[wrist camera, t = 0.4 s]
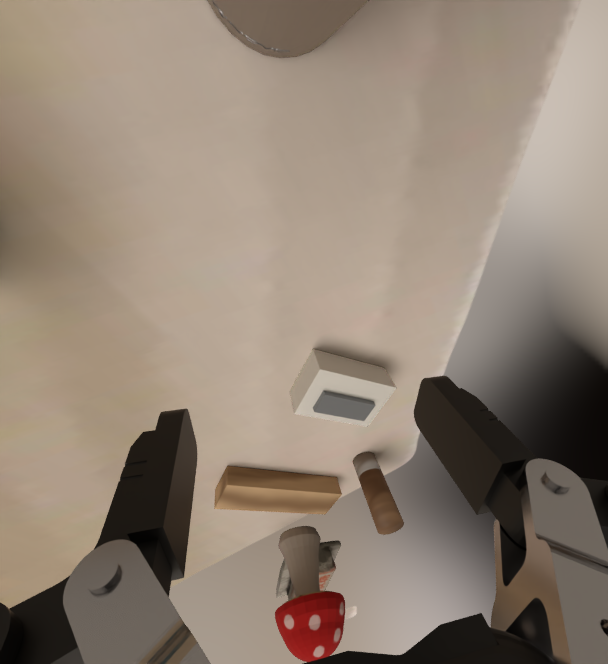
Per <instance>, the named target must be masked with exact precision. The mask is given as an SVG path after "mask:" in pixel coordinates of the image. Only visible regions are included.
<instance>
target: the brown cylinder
mask: <svg viewBox="0 0 608 664" xmlns="http://www.w3.org/2000/svg"><path fill="white" fill-rule="evenodd" d="M353 464H354V467H355V470H356V473H357V475H358V478H359V481H360V484H361V486H362V489H363V492H364V495H365V498H366V500H367V503H368V506H369V509H370V512H371V514H372V517H373V520H374V523H375V526H376V528H377V531H378V533H379V534H384V535H385V534H391V533H393V532H396V531H398V530H399V529H401V528H402V527H403V525H404V522H403V520H402V517H401V515H400V513H399V510H398V508H397V506H396V503H395V501H394V499H393V497H392V494H391V492H390V490H389V487H388V485H387V483H386V481H385V478H384V476H383V473H382V471H381V469H380V466H379V464H378V462H377V460H376V457H375V455H374V454H373V453H371V452H364V453H361V454H359V455H357V456H356V457H355V458H354V460H353Z"/></svg>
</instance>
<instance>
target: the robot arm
mask: <svg viewBox="0 0 608 664" xmlns="http://www.w3.org/2000/svg"><path fill="white" fill-rule="evenodd" d="M368 1H369V0H208V2H209V4H210V5H211V7H212V9H213V11H214V12H215V14H216V16H217V17H218V18H219V19H220V21H221V22H222V23H223V24H224V25H225V27H226V28H227V29H228V30H229V31H230V32H231V34H232V35H234V36H235V37H236V38H237V39H239V40H240V41H241V42H242V43H244V44H245V45H246V46H247V47H249V48H251V49H253V50H255V51H257V52H259V53H262V54H264V55H268V56H273V57H278V58H286V57H297V56H299V55H302V54H305V53H307V52H310V51H312V50H314V49H315V48H316V47H318V46H319V45H321V44H322V43H323V42H325V41H326V40H327V39H328V38H329V37H330V36H331V35H332V34H333V33H334V32H335V31H337V30H338V29H339V28H340V27H341V26H342V25H343V24H344V23H346V22H347V21H348V20H349V19H350V18H351V17H352V16H353V15H354V14H355V13H356V12H357V11H358V10H359V9H360V8H361V7H362V6H363V5H365V4H366V3H367V2H368ZM414 417H415V421H416V424H417V426H418V428H419V429H420V431H421V432H422V434H423V435H424V437H425V438H426V440H427V441H428V443H429V444H430V446H431V447H432V449H433V450H434V452H435V453H436V455H437V456H438V458H439V459H440V461H441V462H442V464H443V465H444V466H445V468H446V470H447V471H448V473H449V474H450V476H451V477H452V478H453V480H454V481H455V483H456V484H457V486H458V487H459V489H460V490H461V492H462V493H463V495H464V496H465V498H466V499H467V501H468V502H469V504H470V505H471V507H472V508H473V510H474V511H475V513H476V514H477V515H478V514H483V513H487V512H492V513H493V514H494V516H495V517H496V520H495V522H494V540H495V541H494V543H495V565H496V598H495V602H494V606H493V611H492V616H491V628H490V627H489V626H488V625H487V623H486V621H485V619H484V617H483V615H482V613H480V614H477V615H473V616H469V617H466V618H463V619H459V620H455V621H452V622H449V623H445V624H441V625H440V626H438V627H437V628H436V629H434V630H433V631H432V632H431V633H429V634H428V635H427V636H426V637H424V638H423V639H422V640H421V641H420V642H418V643H417V644H416V645H414V646H413V647H412V648H411V649H409V650H408V651H407V652H406V653H404V654H402V655H387V654H377V653H366V652H355V651H346V652H343V653H339V654H335V655H332V656H328V657H325V658H321V659H318V660H314V661H311V662H307V663H304V664H608V481H602V480H593V479H586V478H579V477H578V476H577V475H576V474H574V473H573V472H572V471H571V470H569V469H567V468H566V467H564V466H562V465H560V464H558V463H556V462H553V461H550V460H546V459H538V458H537V457H536V456H535V455H534V454H533V453H532V452H531V451H530V450H529V449H528V448H527V447H526V446H525V445H524V444H523V443H522V442H521V441H520V440H519V439H518V438H517V437H516V436H515V435H514V434H513V433H512V432H511V431H510V430H509V429H508V428H507V427H506V426H505V425H504V424H503V423H502V422H501V421H498V420H497V417H496V416H495V415H494V414H493V413H492V412H491V411H488V408H487V407H486V406H485V405H484V404H483V403H482V402H481V401H480V400H479V399H478V398H477V397H475V396H474V395H472V394H471V393H469V392H467V391H466V390H464V389H462V388H461V389H459V388H458V387H457V386H456V385H455V384H454V383H453V382H452V381H451V380H450V379H449V378H448V377H447V376H439V377H431V378H424V379H423V380H422V382H421V385H420V389H419V393H418V397H417V401H416V405H415V409H414ZM196 466H197V445H196V440H195V435H194V431H193V427H192V423H191V419H190V415H189V412H188V410H187V409H180V410H172V411H165V412H161V413H160V416H159V419H158V423H157V426H156V430H154V431H147V432H143V433H142V434H141V435H140V436H139V438H138V439H137V440H136V441H135V443H134V444H133V445H132V446H131V448H130V451H129V454H128V457H127V459H126V462H125V467H124V468H123V471H122V474H121V477H120V482H119V483H118V486H117V489H116V492H115V494H114V497H113V500H112V503H111V506H110V509H109V512H108V515H107V518H106V521H105V524H104V527H103V529H102V532H101V535H100V538H99V540H98V543H97V545H96V547H95V548H94V550H93V551H91V552H90V553H89V554H88V555H87V556H85V557H84V558H83V559H82V560H81V562H80V563H79V564H78V565H77V566H76V568H75V569H74V571H73V572H72V574H71V575H70V576H69V577H67V578H66V579H64V580H63V581H61V582H60V583H58V584H56V585H55V586H53V587H51V588H49V589H47V590H45V591H43V592H41V593H39V594H37V595H35V596H33V597H31V598H29V599H27V600H25V601H23V602H22V603H20V604H18V605H16V606H14V607H12V608H10V609H9V608H7V607H6V606H5V605H3V604H2V603H0V664H210V662H209V660H208V659H207V657H206V656H205V654H204V652H203V650H202V649H201V647H200V646H199V644H198V642H197V641H196V639H195V638H194V636H193V634H192V633H191V631H190V630H189V629H188V627H187V626H186V625H185V624H184V622H183V621H182V619H181V617H180V616H179V614H178V612H177V611H176V609H175V607H174V606H173V604H172V602H171V601H170V599H169V591H170V584H171V580H176V579H180V578H184V571H185V562H186V554H187V545H188V536H189V527H190V518H191V510H192V501H193V492H194V483H195V474H196Z"/></svg>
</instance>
